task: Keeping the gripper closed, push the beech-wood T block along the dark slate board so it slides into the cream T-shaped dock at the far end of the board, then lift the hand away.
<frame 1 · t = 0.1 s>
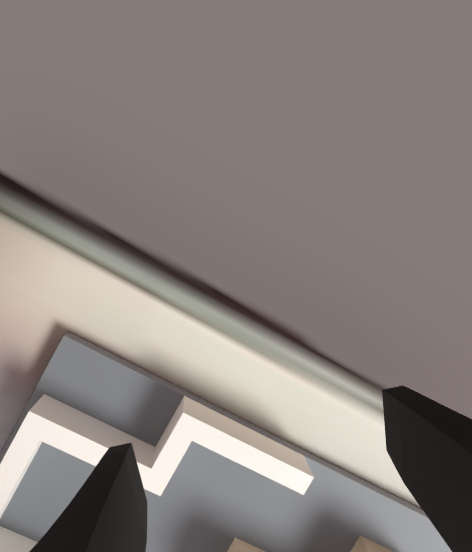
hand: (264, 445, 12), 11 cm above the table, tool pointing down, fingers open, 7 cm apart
dock: (195, 539, 24), resting on board
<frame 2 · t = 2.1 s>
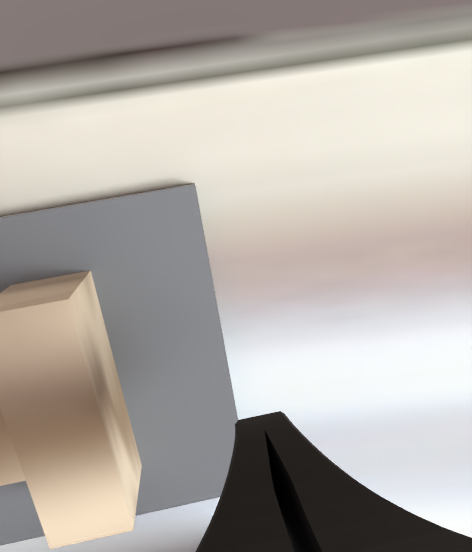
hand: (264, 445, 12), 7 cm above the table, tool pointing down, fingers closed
t block: (81, 382, 18), point 1 cm above the table, touching board
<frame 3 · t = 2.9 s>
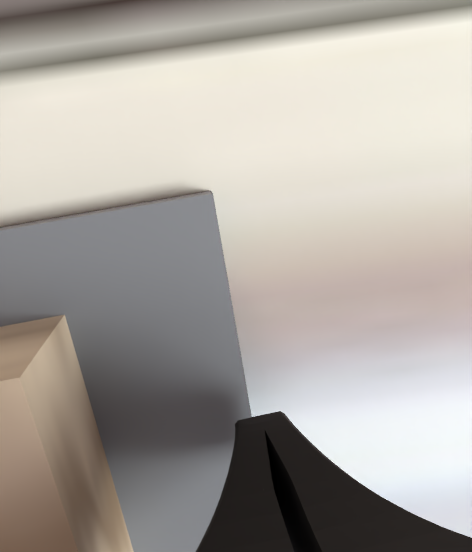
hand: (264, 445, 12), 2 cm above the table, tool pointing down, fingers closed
t block: (54, 464, 13), point 1 cm above the table, touching board
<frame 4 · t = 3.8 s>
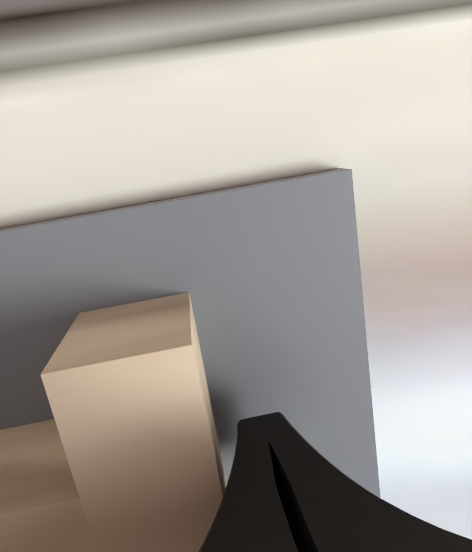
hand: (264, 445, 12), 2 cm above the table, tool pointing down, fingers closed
t block: (167, 441, 13), point 1 cm above the table, touching gripper
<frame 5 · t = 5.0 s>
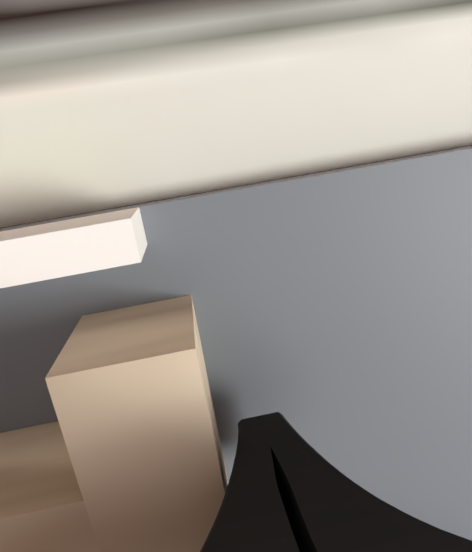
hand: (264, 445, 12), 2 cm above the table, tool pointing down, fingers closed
board: (174, 423, 14), on the table
dock: (111, 436, 14), resting on board
t block: (169, 443, 14), point 1 cm above the table, touching board, gripper
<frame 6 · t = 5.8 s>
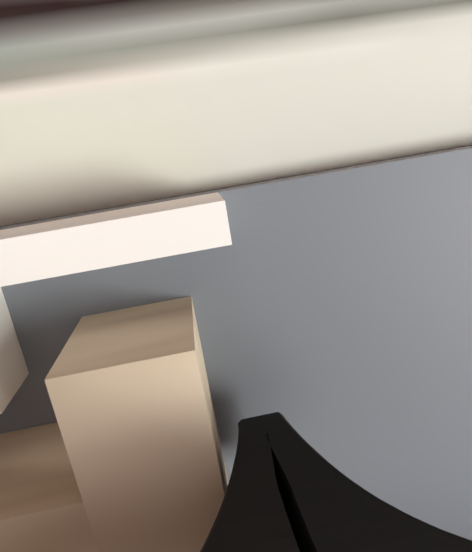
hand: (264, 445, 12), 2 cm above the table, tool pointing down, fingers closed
board: (237, 410, 14), on the table
dock: (175, 422, 14), resting on board
t block: (169, 444, 14), point 1 cm above the table, touching board, gripper
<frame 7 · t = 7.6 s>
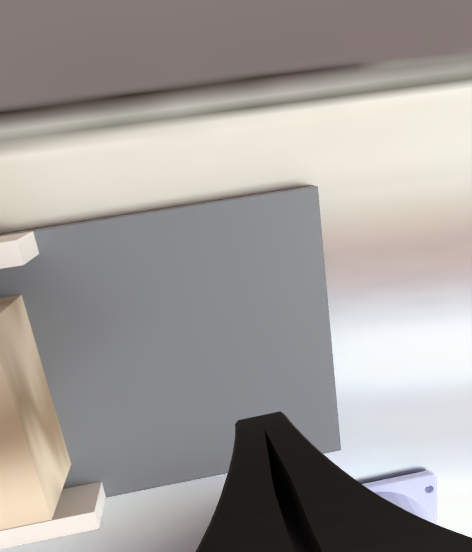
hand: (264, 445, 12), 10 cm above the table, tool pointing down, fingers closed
board: (66, 370, 22), on the table
dock: (24, 378, 22), resting on board
t block: (15, 390, 21), point 1 cm above the table, touching board
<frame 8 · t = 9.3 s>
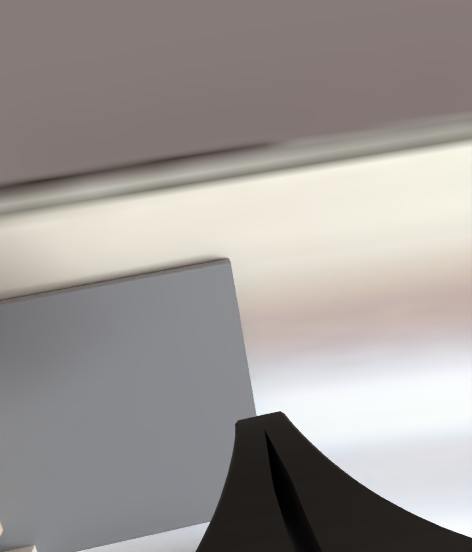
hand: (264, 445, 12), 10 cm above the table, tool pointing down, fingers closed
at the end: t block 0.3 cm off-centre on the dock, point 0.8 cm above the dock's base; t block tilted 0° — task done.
